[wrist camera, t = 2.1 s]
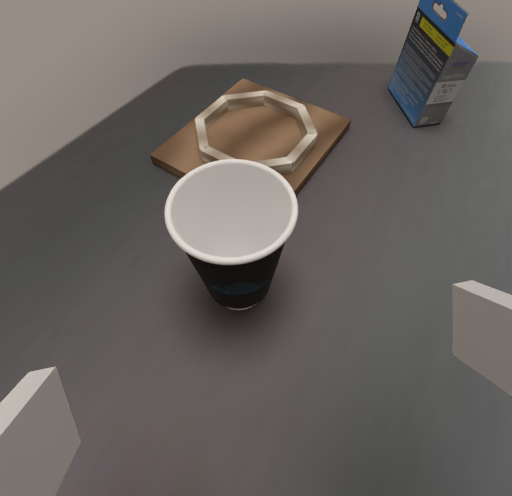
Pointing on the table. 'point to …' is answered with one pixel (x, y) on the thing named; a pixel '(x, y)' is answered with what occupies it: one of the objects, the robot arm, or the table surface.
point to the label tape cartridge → (432, 63)
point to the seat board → (255, 134)
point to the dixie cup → (232, 226)
